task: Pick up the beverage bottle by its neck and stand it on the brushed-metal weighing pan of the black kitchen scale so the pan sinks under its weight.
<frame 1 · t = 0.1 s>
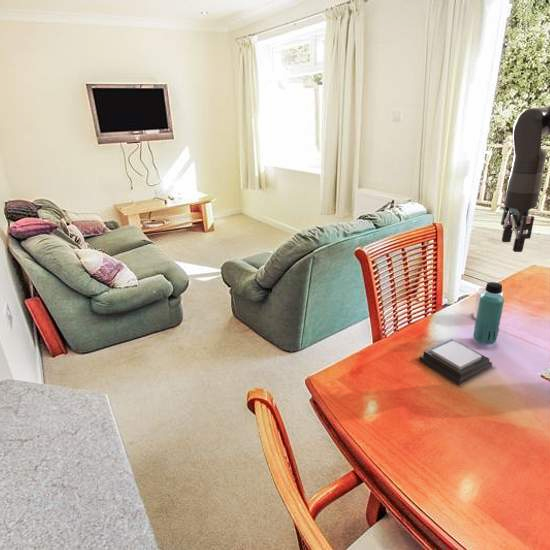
hand: (511, 246, 106), 30 cm above the table, tool pointing down, fingers open, 8 cm apart
beverage bottle: (483, 343, 115), on the table
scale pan: (456, 355, 106), point 3 cm above the table, slide at -0.3 cm
white cup: (484, 318, 129), on the table
scale: (454, 363, 107), on the table
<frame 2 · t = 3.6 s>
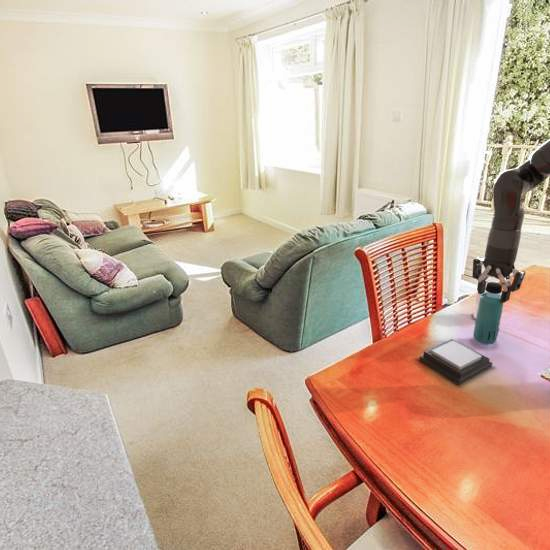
hand: (491, 297, 109), 16 cm above the table, tool pointing down, fingers closed on beverage bottle, 6 cm apart
beverage bottle: (483, 343, 115), on the table, touching gripper
everything else where it was.
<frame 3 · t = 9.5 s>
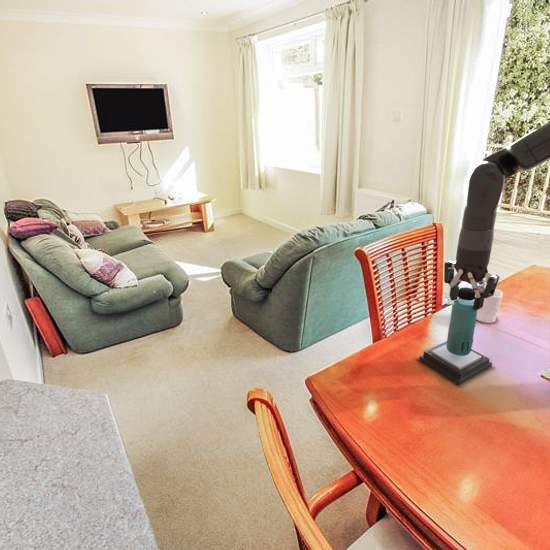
hand: (464, 304, 99), 19 cm above the table, tool pointing down, fingers closed on beverage bottle, 6 cm apart
beverage bottle: (457, 354, 105), point 3 cm above the table, touching gripper, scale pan
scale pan: (455, 355, 106), point 3 cm above the table, slide at -0.6 cm, touching beverage bottle
everything else where it was.
when the fingers open (19 cm above the table, at t = 9.9 s): beverage bottle stays where it is, resting on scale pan.
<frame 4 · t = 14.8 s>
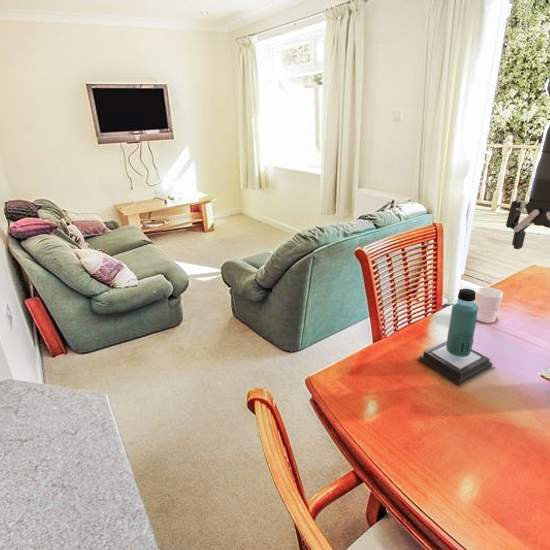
hand: (538, 253, 79), 38 cm above the table, tool pointing down, fingers open, 8 cm apart
beverage bottle: (457, 355, 105), point 3 cm above the table, touching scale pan
everything else where it was.
at the end: beverage bottle 0.3 cm off-centre on the scale, point 3.0 cm above the scale's base; beverage bottle tilted 0°; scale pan slide at -0.9 cm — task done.
